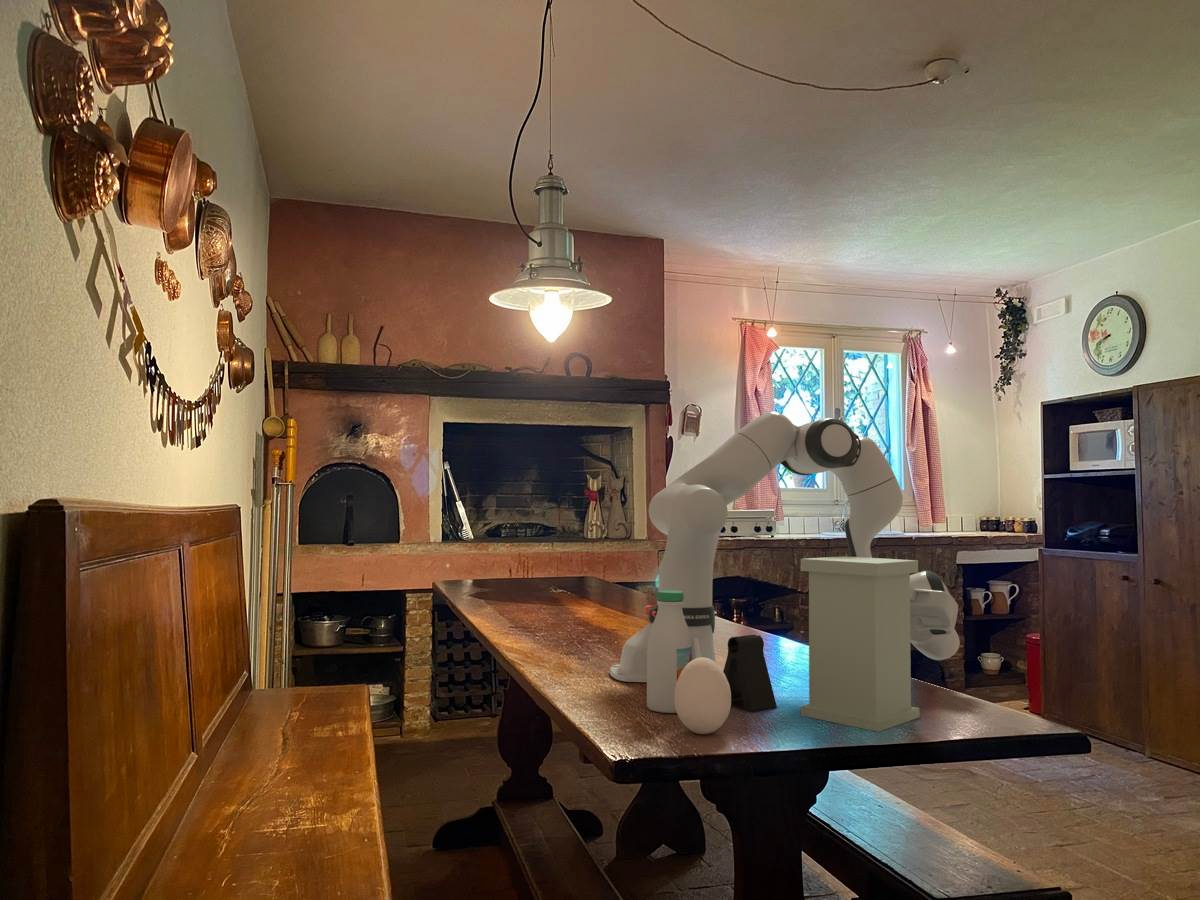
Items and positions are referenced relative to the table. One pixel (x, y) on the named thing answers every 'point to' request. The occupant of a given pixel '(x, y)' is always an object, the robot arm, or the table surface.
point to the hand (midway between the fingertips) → (885, 584)
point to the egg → (702, 696)
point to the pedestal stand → (860, 641)
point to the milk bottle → (667, 651)
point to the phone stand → (748, 674)
